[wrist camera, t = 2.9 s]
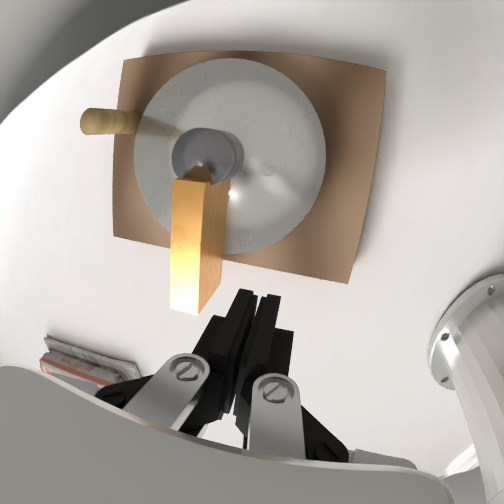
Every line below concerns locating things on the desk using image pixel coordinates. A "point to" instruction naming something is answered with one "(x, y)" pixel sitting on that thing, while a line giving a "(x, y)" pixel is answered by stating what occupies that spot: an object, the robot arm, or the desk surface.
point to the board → (336, 168)
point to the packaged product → (85, 365)
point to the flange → (226, 167)
